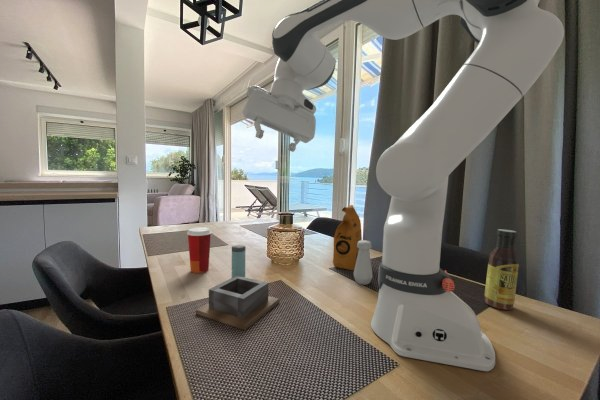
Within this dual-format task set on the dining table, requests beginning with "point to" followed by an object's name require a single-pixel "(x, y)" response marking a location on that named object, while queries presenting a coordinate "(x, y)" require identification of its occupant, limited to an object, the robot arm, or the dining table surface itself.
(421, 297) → the robot arm
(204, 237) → the paper cup
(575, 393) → the dining table surface
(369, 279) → the salt shaker
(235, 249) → the marker peg
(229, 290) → the grey box holder
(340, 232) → the coffee package
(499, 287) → the sauce bottle
